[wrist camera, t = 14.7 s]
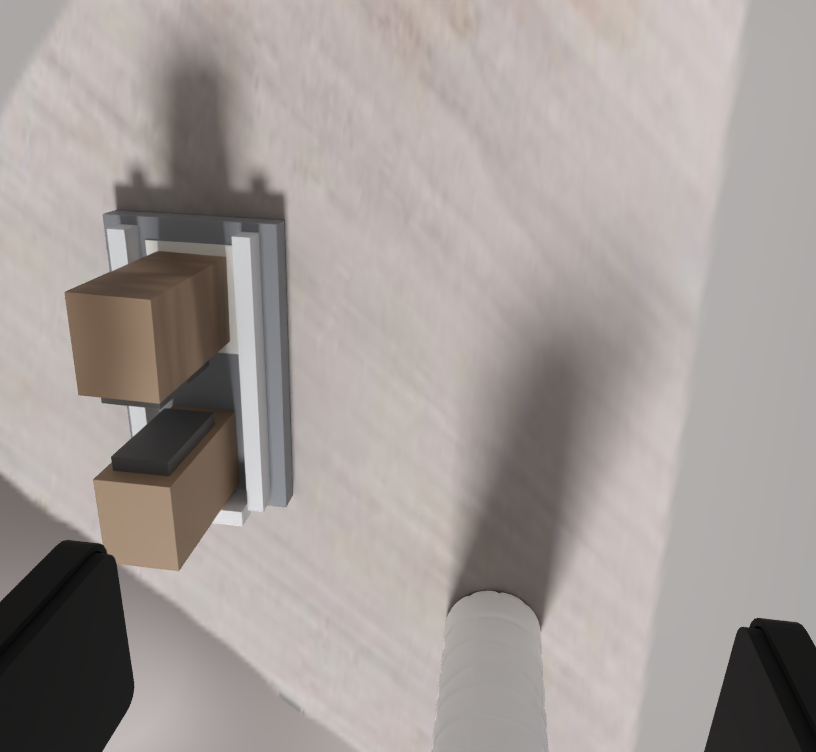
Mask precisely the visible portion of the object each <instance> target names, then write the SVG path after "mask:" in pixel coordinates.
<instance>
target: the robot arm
mask: <svg viewBox="0 0 816 752" xmlns="http://www.w3.org/2000/svg"><path fill="white" fill-rule="evenodd" d="M133 693H134V679H133V672H132V666H131V660H130V652H129V645H128V638H127V632H126V625H125V618H124V611H123V605H122V598H121V591H120V584H119V577H118V571H117V564H116V560H115V558H114V556H113V555H110V554H107V550H106V548H105V547H104V545H102V544H99V543H90V542H81V541H71V540H65V541H62V542H61V543H59V544H58V545H57V546H56V547H55V548H54V549H53V550H52V551H51V552H50V553H49V554H48V555H47V556H46V557H45V558H44V559H43V560H42V561H41V562H40V563H39V564H38V565H37V566H36V567H35V568H34V569H33V570H32V571H31V572H30V573H29V574H28V575H27V576H26V577H25V578H24V579H23V580H22V581H21V582H20V583H19V584H18V585H17V586H16V587H15V588H14V589H13V590H12V591H11V592H10V593H9V594H8V595H7V596H6V597H5V598H4V599H3V600H2V601H1V602H0V752H102V751H103V749H104V748H105V746H106V744H107V743H108V741H109V740H110V738H111V736H112V735H113V733H114V731H115V730H116V728H117V727H118V725H119V723H120V722H121V720H122V718H123V717H124V715H125V714H126V712H127V710H128V708H129V706H130V704H131V701H132V698H133ZM704 752H816V647H815V645H814V643H813V641H812V640H811V638H810V636H809V634H808V633H807V631H806V629H805V628H804V627H803V626H802V625H801V624H799V623H797V622H788V621H780V620H771V619H762V618H756V619H754V620H753V621H752V622H751V624H750V627H749V628H747V627H740V628H739V629H738V631H737V634H736V637H735V641H734V645H733V648H732V652H731V655H730V659H729V663H728V666H727V670H726V674H725V677H724V681H723V685H722V689H721V692H720V696H719V699H718V703H717V707H716V710H715V714H714V718H713V721H712V725H711V729H710V732H709V736H708V740H707V743H706V747H705V751H704Z"/></svg>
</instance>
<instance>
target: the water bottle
mask: <svg viewBox="0 0 816 752" xmlns="http://www.w3.org/2000/svg"><path fill="white" fill-rule="evenodd" d="M541 655H542V645H541V631H540V626H539V622H538V619H537V617H536V615H535V614H534V612H533V611H532V609H531V608H530V607H529V606H528V605H525V604H524V602H523V601H522V600H520V599H519V598H517V597H515V596H513V595H510V594H507V593H503V592H502V593H497V592H496V591H480V592H476V593H473V594H472V595H471V596H465V597H463V598H462V599H460V600H459V601H458V602H457V603H456V604H455V605H454V606H453V607H452V609H451V611H450V613H449V614H448V616H447V619H446V623H445V631H444V639H443V652H442V658H441V673H440V678H439V685H438V699H437V704H436V714H435V717H436V720H435V724H434V730H433V740H432V752H548V738H547V732H546V712H545V709H544V707H545V692H544V684H543V663H542V657H541Z"/></svg>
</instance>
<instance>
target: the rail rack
mask: <svg viewBox="0 0 816 752" xmlns="http://www.w3.org/2000/svg"><path fill="white" fill-rule="evenodd" d="M103 221H104V228H105V236H106V244H107V252H108V260H109V268H110V272H111V271H113V270H116V269H118V268H120V267H122V266H125V265H127V264H129V263H132V262H134V261H136V260H138V259H141V258H143V257H145V256H147V255H150V254H152V253H154V252H157V251H165V252H176V253H188V254H200V255H211V256H223V257H226V260H227V283H228V306H229V328H230V342H229V343H228V344H227V345H225V346H224V347H223V348H222V349H221V350H220V351H219V352H218V353H216V354H215V355H214V356H213V357H212V358H211V359H210V360H209V366H208V367H207V368H206V369H205V370H204V371H202V372H201V373H200V374H199V375H198V376H197V377H196V378H195V379H194V380H192V381H191V382H190V383H189V384H188V385H187V386H186V387H185V388H184V389H183V390H181V391H180V392H179V393H178V394H177V395H176V396H175V397H174V398H173V399H171V400H170V401H169V402H168V403H167V404H166V405H165V406H164V407H163V408H162V409H153V408H144V407H134V406H127V409H128V417H129V425H130V432H131V439H130V440H129V441H128V442H127V443H126V444H125V445H124V446H122V447H121V448H120V449H119V450H118V451H117V452H116V453H115V454H114V455H113V456H112V457H111V460H112V463H111V464H109V465H108V466H107V467H106V468H105V469H104V470H103V471H102V472H101V473H100V474H99V475H98V476H97V477H95V478H94V479H93V482H94V489H95V495H96V502H97V508H98V515H99V521H100V528H101V534H102V541H103V545H104V547H105V548H106V550H107V554H110V555H113V556H114V558H115V560H116V564H122V565H131V566H139V567H148V568H157V569H165V570H174V571H179V570H180V569H181V567H182V566H183V564H184V563H185V561H186V560H187V558H188V557H189V556H190V554H191V553H192V551H193V550H194V548H195V547H196V545H197V544H198V543H199V541H200V540H201V538H202V537H203V535H204V534H205V532H206V531H207V529H208V528H209V527H210V525H211V524H212V523H217V524H226V525H235V526H243V525H244V523H245V521H246V520H247V518H248V517H249V515H250V513H251V512H252V511H259V512H264V510H265V508H266V506H267V505H268V506H278V507H287V505H288V503H289V501H290V499H291V497H292V496H293V486H292V453H291V420H290V387H289V354H288V322H287V289H286V256H285V223H284V220H274V219H258V218H241V217H224V216H207V215H190V214H173V213H156V212H140V211H123V210H115V211H112V212H108V213H105V214H103Z"/></svg>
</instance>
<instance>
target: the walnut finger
mask: <svg viewBox="0 0 816 752" xmlns="http://www.w3.org/2000/svg"><path fill="white" fill-rule="evenodd" d="M65 299H66V306H67V314H68V321H69V328H70V336H71V343H72V350H73V358H74V365H75V373H76V380H77V387H78V395H83V396H92V397H101V400H102V403H107V404H116V405H125V406H134V407H144V408H153V409H162V408H163V407H164V406H165V405H166V404H167V403H168V402H169V401H170V400H171V399H173V398H174V397H175V396H176V395H177V394H178V393H179V392H180V391H181V390H183V389H184V388H185V387H186V386H187V385H188V384H189V383H190V382H191V381H192V380H194V379H195V378H196V377H197V376H198V375H199V374H200V373H201V372H202V371H204V370H205V369H206V368H207V367H208V366H209V360H210V359H211V358H212V357H213V356H214V355H215V354H216V353H218V352H219V351H220V350H221V349H222V348H223V347H224V346H225V345H227V344H228V343H229V342H230V328H229V306H228V283H227V260H226V257H223V256H211V255H200V254H188V253H176V252H165V251H157V252H154V253H152V254H150V255H147V256H145V257H143V258H141V259H138V260H136V261H134V262H132V263H129V264H127V265H125V266H122V267H120V268H118V269H116V270H113V271H111V272H109V273H107V274H104V275H102V276H100V277H98V278H95V279H93V280H91V281H88V282H86V283H84V284H82V285H79V286H77V287H75V288H73V289H70V290H68V291H66V292H65Z"/></svg>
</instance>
